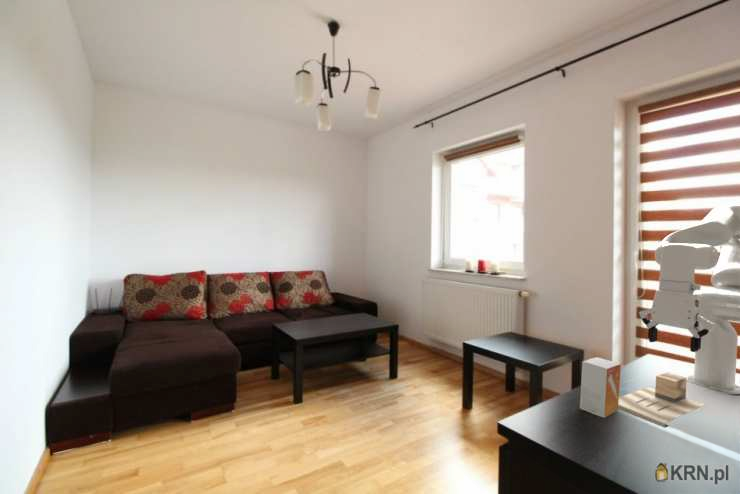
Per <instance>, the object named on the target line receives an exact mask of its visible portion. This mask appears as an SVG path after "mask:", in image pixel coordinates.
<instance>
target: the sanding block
mask: <svg viewBox="0 0 740 494" xmlns="http://www.w3.org/2000/svg"><path fill="white" fill-rule="evenodd" d="M687 379H688V377H686V376H682V375H679V374H675V373H673V372H669V371H667V372H664V373H661V374H658V375H655V387H654V388H655V397H658V398H661V399H664V400H667V401H670V402H673V403H675V402H678V401H680V400H682V399H685V398H686V399H687V397H686V396H687V395H686V394H687V381H688V380H687Z"/></svg>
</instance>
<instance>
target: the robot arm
mask: <svg viewBox="0 0 740 494" xmlns="http://www.w3.org/2000/svg"><path fill="white" fill-rule="evenodd" d="M718 246H719V249H720V253H719V251H718V250H717V248H716V247H718ZM654 260H655V262H656V264H658V265H659V285H658V289H656V291H655V293H654V296H653V300H652V305H651V307H650V308H648V309H645V310H641V311H640V310H639V312H638V314H639V316H640V318H641V321H642V323H644V325H646V328H647V331H648V332H647V338H648V339H649V340H648V341H649V343H655V342H657V341H658V332H659V331H658V329H659V328H657V326H658V325H663V326H668V327H673V328H677V329H678V328H679V329H683V330H688V331H689V333H690V334H691V335H692V336H691V337H690V349H689V350H690V352H692V353H694V355H695V356H694V368H693V369H694V371H693V375H689V376H687V380H686V381H687V382H688V383H690V384H693V385H697V386H701V387H703V388H708V389H709V390H714V391H717V392H721V393H725V394H728V395H740V386H739V385H737V384H736V375H737V373H736V372H737V371H736V370H737V358H738V357H737V356H738V355H737V354H738V340H739V339H738V338H739V336H738V333H737V331H736V329H735V327H734V326H733V325H732V324H731V322H738V323H740V202H733V203H732V202H731V203H724V204H723V203H722V204H720V205H717V206H715V208H713V209H712V210H711V211H710V212H709V213H708V214H707V215H706V216H705V217H704V218H703V219H702V220H701V221H700V222H699V223H698V224H695V225H691V226H689V227H686V228H683V229H680V230H677V231H674V232H672V233H670V234H669V235H667V236H666V237H665V238H664V239H663V240H662V241H661V242H660V243H659V244H658V245H657V246H656V249H655V252H654ZM712 268H713V271H712V273H711V275H710V283H711V285H712V286H713V287H714V288H713V287H708V288H706V287H705V288H702V287H701V285H699V284H696V282H695V275H696V274H695V273H696V272H695V271H697V270H699V271H700V270H701V271H706V270H710V269H711V270H712ZM701 288H702V289H701ZM695 291H697V292H695ZM648 314H651V315H650V318H649V317H648ZM650 319H651V320H650Z"/></svg>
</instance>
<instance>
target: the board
mask: <svg viewBox="0 0 740 494" xmlns="http://www.w3.org/2000/svg"><path fill="white" fill-rule="evenodd" d="M703 406H705V403H701V402H698V401H695V400H692V399H689V398H687V397H686V398H685V399H682V400H680V401H678V402H675V403H673V402H670V401H667V400H664V399H661V398H658V397H655V387H653V386H648V387H645V388H641V389H639V390H636V391H633V392H631V393H628V394H625V395H621V396H619V401H618V411H619V410H620V411H622V412H624V413H627V414H630V415H631V416H634V417H637V418H639V419H642V420H644V421H647V422H649V423H652V424H655V425H657V426H660V427H662V428H667V427H669V425H668V424H666V423H668V422H671V421H672V420H675V419H677V418H679V417H681V416H683V415H685V414H688V413H690V412H692V411H694V410H696V409H698V408H701V407H703Z"/></svg>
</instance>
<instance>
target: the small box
mask: <svg viewBox="0 0 740 494" xmlns="http://www.w3.org/2000/svg"><path fill="white" fill-rule="evenodd" d="M621 366H622V365H621V363H619V362H616V361H612V360H608V359H605V358H602V357H597V356H596V357H592V358H589V359H586V360H583V361H581V376H580V377H581V380H580V398H579V409H580V410H582V411H586V412H587V413H590V414H592V415H595V416H598V417H601V418H603V419H605V418H607V417H609V416H611V415H612V414H615V413H616V412H618V411H619V409H618V406H619V405H618V401H619V397H620V385H621V384H620V379H621V368H622V367H621Z"/></svg>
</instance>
